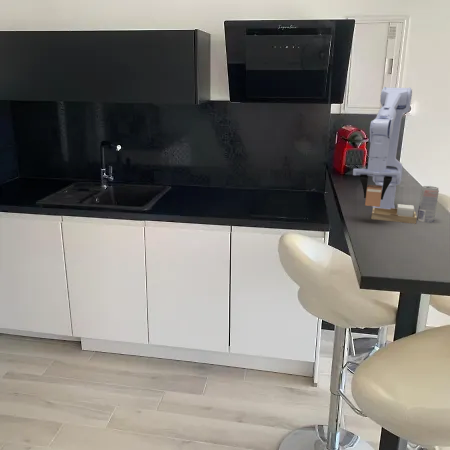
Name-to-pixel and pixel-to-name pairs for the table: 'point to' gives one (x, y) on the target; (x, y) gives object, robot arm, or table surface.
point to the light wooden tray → (392, 215)
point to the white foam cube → (405, 210)
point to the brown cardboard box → (373, 195)
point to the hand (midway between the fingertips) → (373, 198)
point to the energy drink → (428, 204)
